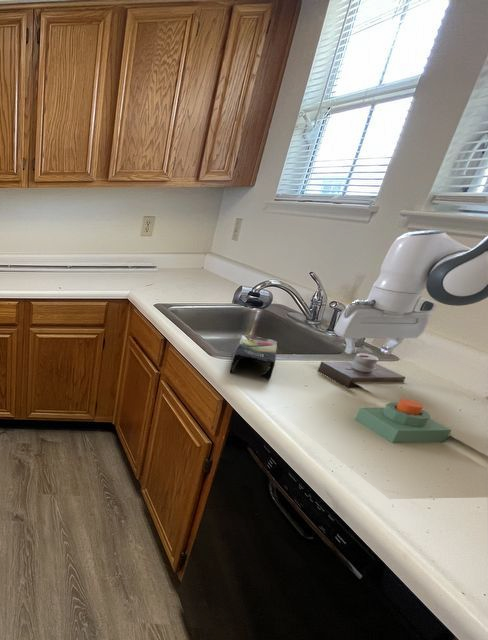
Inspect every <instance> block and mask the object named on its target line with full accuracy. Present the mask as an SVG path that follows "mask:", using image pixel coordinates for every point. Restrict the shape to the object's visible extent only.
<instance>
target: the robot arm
mask: <svg viewBox="0 0 488 640" xmlns="http://www.w3.org/2000/svg"><path fill="white" fill-rule="evenodd" d="M424 290H426V292H427V293H428V295H429V296H430V298H432V299H433V300H434V301H433V300H430V299H427V298H424V297H423V296H422V294H423V292H424ZM487 298H488V235H487V236H486V237H484V239H482V240H481V241H480V242H479V243H478V244H476V245H475V246H474V247H473V248H472V247H469V246H467V245H464V244H462V243H460V242H458V241H457V240H455V239H454V238H452V237H450V236H449V235H448V233H446V232H445V231H443V230H437V229H436V230H435V229H434V230H433V229H431V230H430V229H429V230H428V229H427V230H414V231H409V232H405V233H403V234H402V235H400V236H398V237H397V238H396V239H395V240H394V241H393V243H391V245H390V247H389V249H388V251H387V253H386V255H385V257H384V259H383V261H382V264H381V266H380V273H379V276H378V278H377V279H376V280H375V282H374V283H373V285H372V286H371V289H370V292H369V294H368V296H367V298H366V300H361V299H360V300H359V299H357V300H354V301H353V302H351V303H349V304H347V306H346V307H345V309H344V310H343V312H342V313H341V315H340V316H339V318H338V320H337V322H336V323H335V325H334V328H333V332H334V335H336V336H339V337H341V338H343V339H344V340H345V345H346V347H345V349H344V352H345V354H348V355H356V354H357V351H358V349H359V347H356V343H358V341H359V339H389V341H388V342H387V343H386V344H385V345H382V346H381V348H380V349H379V352H380V353H381V354H383V355H392V353H393V351H394V349H396V348H397V347H398V346H399V345H401V344H402V343H403V341H404V339H419V337H420V336H422V335H423V334H424V332H425V330H426V328H427V327H428V325H429V323H430V321H431V317H432V312H434V311H435V310H436V308H437V307H438V303H440V304H442V305H447V306H454V307H455V306H456V307H459V306H461V307H462V306H468V305H473V304H477V303H480V302H481V301H484V300H485V299H487ZM435 301H436V302H435ZM437 302H438V303H437Z"/></svg>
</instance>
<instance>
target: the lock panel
mask: <svg viewBox="0 0 488 640" xmlns="http://www.w3.org/2000/svg"><path fill="white" fill-rule="evenodd" d="M353 361H354V360H342V361H341V360H340V361H339V360H333V361H332V360H331V361H330V360H328V361H327V360H326V361H325V360H323V361H322V360H321V362H320V364H319V367H318V369H317V372H318V373H320V374H321V373H322V375H323V374H324V375H323V376H325V375H326V376H325V377H327V376H328V377H329V378H328V377H327V378H328V379H330V378H331V379H330V380H332V379H333V380H332V381H334V380H335V381H336V382H335V381H334V382H335V383H337V382H338V383H337V384H339V383H340V384H339V385H340V386H342V385H343V386H342V387H344V386H345V388H346V387H347V388H346V389H364V387H362V386H361V385H360V384H357V383H393V382H394V383H403V382H405V379H406V376H404V375H403V374H400V373H398V372H395V371H393V370H391V369H389V368H387V367H385V366H383V365H380V364H378V363H377V364H376V366H375V368H374V370H373V372H362V371H358V370H356V369H353V368H352V367H351V366H352V364H353Z"/></svg>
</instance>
